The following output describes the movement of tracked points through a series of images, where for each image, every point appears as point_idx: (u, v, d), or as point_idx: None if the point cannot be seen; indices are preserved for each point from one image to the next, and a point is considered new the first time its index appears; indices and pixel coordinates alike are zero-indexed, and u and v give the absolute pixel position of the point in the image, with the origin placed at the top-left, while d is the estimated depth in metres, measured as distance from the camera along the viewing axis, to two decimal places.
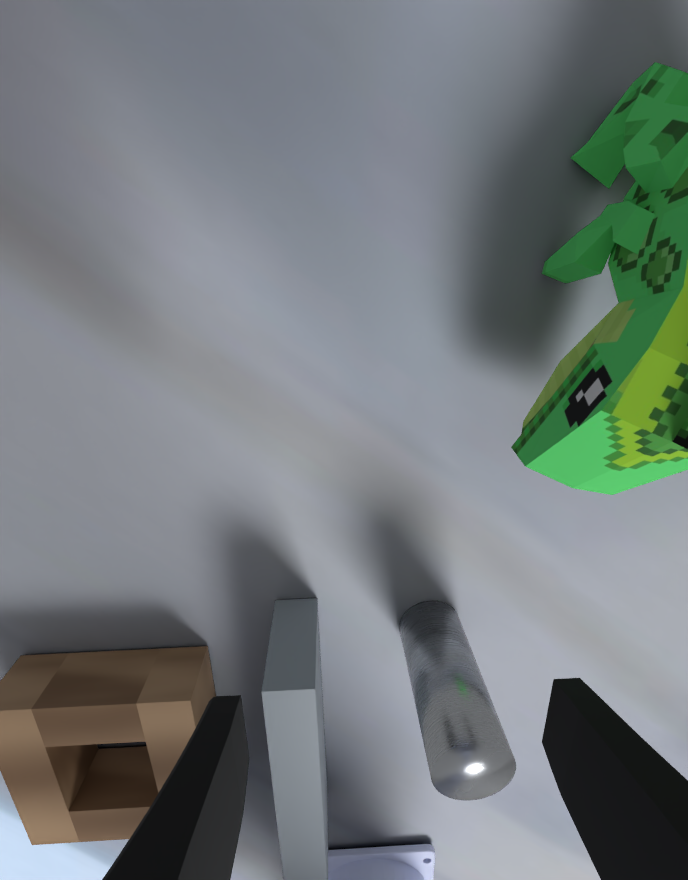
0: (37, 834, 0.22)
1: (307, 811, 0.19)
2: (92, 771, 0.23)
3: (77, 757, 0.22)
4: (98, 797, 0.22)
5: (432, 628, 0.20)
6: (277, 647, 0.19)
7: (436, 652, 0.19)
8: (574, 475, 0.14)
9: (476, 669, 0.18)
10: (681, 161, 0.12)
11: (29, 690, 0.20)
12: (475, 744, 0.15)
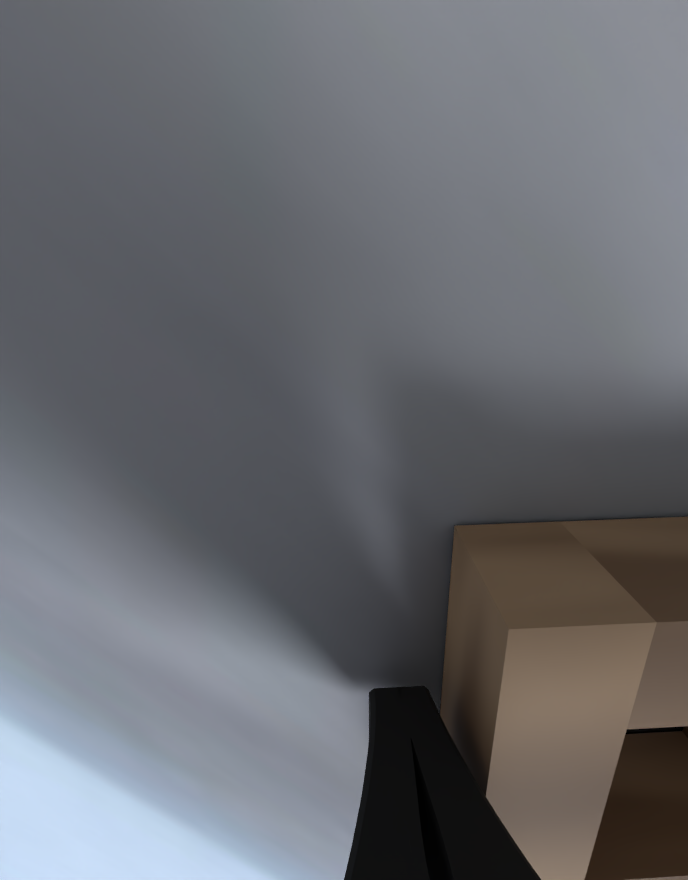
0: None
1: None
2: None
3: None
4: (621, 846, 0.10)
5: None
6: None
7: None
8: None
9: None
10: None
11: (580, 583, 0.08)
12: None
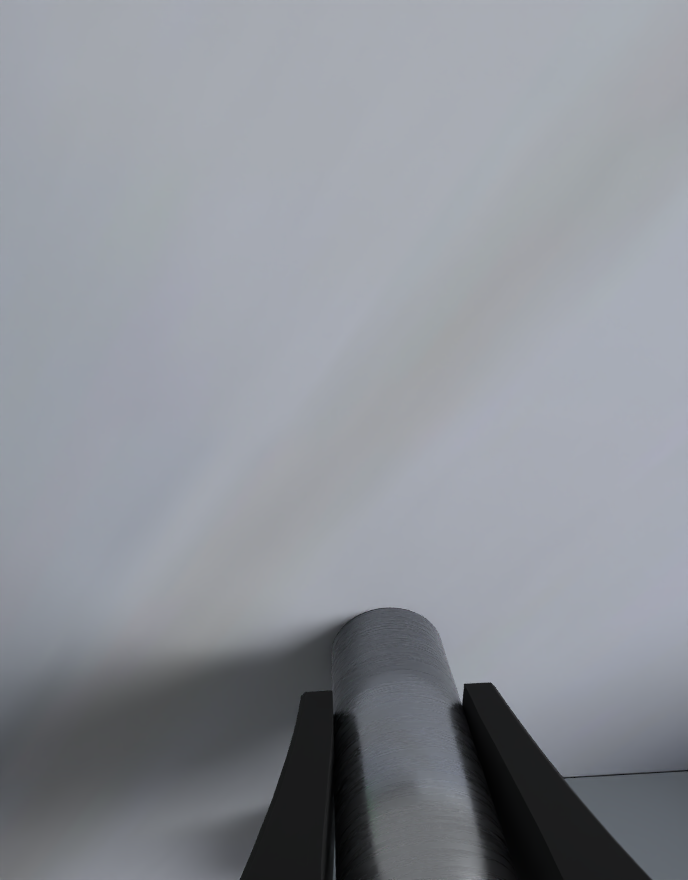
0: None
1: None
2: None
3: None
4: None
5: None
6: None
7: None
8: None
9: (360, 762, 0.08)
10: None
11: None
12: None
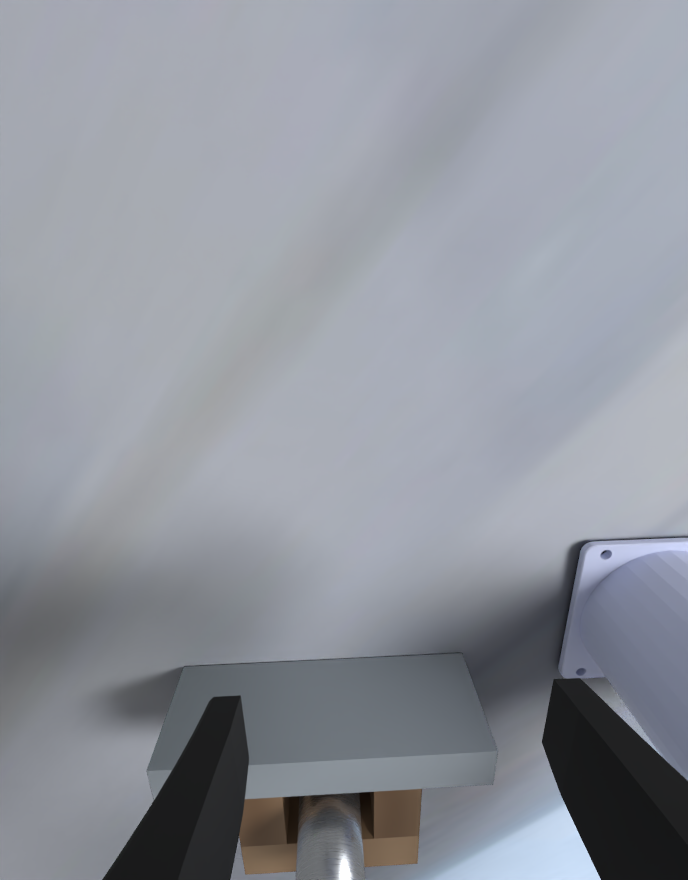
0: (402, 858, 0.23)
1: (325, 772, 0.18)
2: (370, 796, 0.24)
3: None
4: (372, 811, 0.23)
5: None
6: None
7: None
8: None
9: (305, 810, 0.21)
10: None
11: None
12: None
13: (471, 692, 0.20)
